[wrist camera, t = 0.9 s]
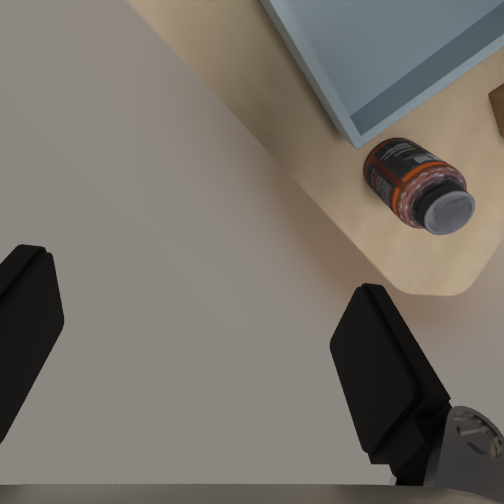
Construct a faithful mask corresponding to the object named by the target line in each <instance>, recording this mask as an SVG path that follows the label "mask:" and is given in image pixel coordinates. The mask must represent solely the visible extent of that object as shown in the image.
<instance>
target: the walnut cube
mask: <svg viewBox="0 0 504 504" xmlns="http://www.w3.org/2000/svg"><path fill="white" fill-rule="evenodd" d="M489 98H490V101H491V105H492V108H493V111H494V115H495V118H496V122H497V125H498V128H499V132H500V135H502V136H504V84H502V85H501V86H499V87H498V88H496V89H495V90H493V91H492V92H490V93H489Z"/></svg>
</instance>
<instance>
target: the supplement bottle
mask: <svg viewBox="0 0 504 504" xmlns="http://www.w3.org/2000/svg"><path fill="white" fill-rule="evenodd" d="M365 178H366V181H367V183H368V184H369V186H370V187H371V188H372V189H373V190H374V192H375V193H376V194H377V195H378V196H379V197H380V198H381V199H382V200H383V201H384V202H385V204H386V205H387V206H388V207H389V208H390V209H391V210H392V211H393V212H394V214H395V215H396V216H397V217H398V218H399V219H400V220H401V221H402V222H404V223H405V224H407V225H408V226H411V227H413V228H420V229H425V228H426V230H427V231H429V232H430V233H432V234H435V235H446V234H450V233H453V232H455V231H457V230H458V229H460V228H461V227H463V226H464V225H465V224H466V223H467V222H468V221H469V219H470V218H471V217H472V215H473V212H474V209H475V202H474V198H473V197H472V196H471V195H470V194H469V193H468V192H467V186H466V181H465V179H464V177H463V175H462V174H461V173H460V172H459V171H458V170H457V169H456V168H454V167H453V166H451V165H449V164H448V163H446V162H445V161H443V160H441V159H440V158H438V157H436V156H435V155H433V154H431V153H430V152H428V151H427V150H425V149H424V148H422V147H420V146H419V145H417V144H416V143H414V142H412V141H410V140H407V139H404V138H395V139H391V140H388V141H386V142H384V143H382V144H380V145H379V146H378V147H377V148H376V149H375V150H374V151H373V152H372V153H371V155H370V156H369V158H368V160H367V162H366V165H365Z"/></svg>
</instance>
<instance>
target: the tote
mask: <svg viewBox="0 0 504 504" xmlns="http://www.w3.org/2000/svg"><path fill="white" fill-rule="evenodd" d="M259 1H260V2H261V4H262V6H263V7H264V9H265V11H266V12H267V14H268V16H269V17H270V19H271V21H272V22H273V24H274V26H275V27H276V29H277V31H278V32H279V34H280V36H281V37H282V39H283V41H284V42H285V44H286V46H287V47H288V49H289V51H290V52H291V54H292V56H293V57H294V59H295V61H296V62H297V64H298V66H299V67H300V69H301V71H302V72H303V74H304V76H305V77H306V79H307V81H308V82H309V84H310V86H311V87H312V89H313V91H314V92H315V94H316V96H317V97H318V99H319V101H320V102H321V104H322V106H323V107H324V109H325V111H326V113H327V114H328V116H329V118H330V119H331V121H332V123H333V124H334V126H335V128H336V129H337V131H338V132H339V133H340V134H341V135H342V136H343V137H344V138H345V139H346V140H347V141H348V142H349V143H350V144H351V145H352V146H353V147H354V148H355V149H356V150H357V149H358V148H360V147H361V146H363V145H364V144H365V143H367V142H368V141H370V140H371V139H373V138H374V137H375V136H377V135H378V134H380V133H381V132H382V131H384V130H385V129H387V128H388V127H390V126H391V125H392V124H394V123H395V122H397V121H398V120H400V119H401V118H402V117H404V116H405V115H407V114H408V113H409V112H411V111H412V110H414V109H415V108H417V107H418V106H419V105H421V104H422V103H424V102H425V101H426V100H428V99H429V98H431V97H432V96H434V95H435V94H436V93H438V92H439V91H441V90H442V89H443V88H445V87H446V86H448V85H449V84H451V83H452V82H453V81H455V80H456V79H458V78H459V77H460V76H462V75H463V74H465V73H466V72H468V71H469V70H470V69H472V68H473V67H475V66H476V65H477V64H479V63H480V62H482V61H483V60H485V59H486V58H487V57H489V56H490V55H492V54H493V53H494V52H496V51H497V50H499V49H500V48H502V47H503V46H504V0H259Z"/></svg>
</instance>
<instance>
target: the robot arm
mask: <svg viewBox="0 0 504 504" xmlns="http://www.w3.org/2000/svg"><path fill="white" fill-rule="evenodd" d="M63 326H64V314H63V309H62V303H61V298H60V292H59V287H58V282H57V276H56V270H55V265H54V260H53V255H52V254H51V253H49V252H47V251H46V249H45V248H44V247H41V246H32V245H24V244H21V245H18V246H17V247H16V248H15V249H14V250H13V251H12V252H11V253H10V254H9V255H8V256H7V257H6V258H5V260H4V261H3V262H2V263H1V264H0V444H1V442H2V441H3V440H4V438H5V436H6V434H7V432H8V431H9V429H10V427H11V425H12V423H13V421H14V419H15V417H16V416H17V414H18V412H19V410H20V408H21V406H22V404H23V403H24V401H25V399H26V397H27V395H28V393H29V391H30V389H31V387H32V386H33V384H34V382H35V380H36V378H37V376H38V374H39V372H40V370H41V369H42V367H43V365H44V363H45V361H46V359H47V357H48V356H49V353H50V352H51V350H52V348H53V346H54V344H55V342H56V340H57V338H58V337H59V335H60V333H61V331H62V329H63ZM330 351H331V354H332V357H333V360H334V363H335V366H336V369H337V373H338V376H339V379H340V382H341V385H342V388H343V392H344V395H345V397H346V401H347V404H348V407H349V410H350V413H351V416H352V419H353V422H354V426H355V429H356V432H357V435H358V438H359V441H360V444H361V447H362V449H363V451H365V452H366V453H368V456H369V459H370V462H371V464H389V466H390V469H391V471H392V476H391V479H390V483H389V485H340V484H23V485H0V504H504V436H503V435H502V433H501V432H500V431H499V429H498V428H497V427H496V426H495V425H494V424H493V423H492V422H491V421H490V420H489V419H488V418H487V417H485V416H484V415H483V414H481V413H480V412H478V411H475V410H474V409H472V408H469V407H465V406H455V407H453V408H452V407H451V405H450V403H449V400H450V399H451V398H450V396H449V394H448V393H447V391H446V390H445V388H444V386H443V385H442V383H441V381H440V380H439V378H438V376H437V375H436V373H435V371H434V370H433V368H432V367H431V365H430V363H429V361H428V360H427V358H426V356H425V355H424V353H423V351H422V350H421V348H420V346H419V345H418V343H417V341H416V340H415V338H414V336H413V335H412V333H411V332H410V330H409V328H408V326H407V325H406V323H405V321H404V320H403V318H402V316H401V315H400V313H399V311H398V310H397V308H396V306H395V305H394V303H393V302H392V300H391V298H390V296H389V295H388V293H387V291H386V290H385V288H384V287H383V286H382V285H377V284H368V283H364V284H362V285H361V287H358V288H356V290H355V292H354V294H353V296H352V298H351V300H350V302H349V304H348V306H347V308H346V310H345V312H344V314H343V316H342V318H341V320H340V322H339V324H338V326H337V328H336V330H335V332H334V334H333V336H332V338H331V341H330Z"/></svg>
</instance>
